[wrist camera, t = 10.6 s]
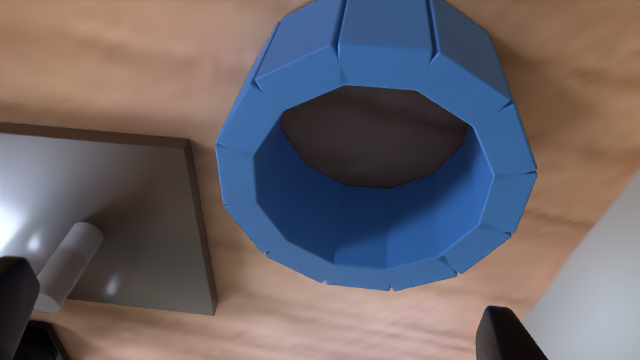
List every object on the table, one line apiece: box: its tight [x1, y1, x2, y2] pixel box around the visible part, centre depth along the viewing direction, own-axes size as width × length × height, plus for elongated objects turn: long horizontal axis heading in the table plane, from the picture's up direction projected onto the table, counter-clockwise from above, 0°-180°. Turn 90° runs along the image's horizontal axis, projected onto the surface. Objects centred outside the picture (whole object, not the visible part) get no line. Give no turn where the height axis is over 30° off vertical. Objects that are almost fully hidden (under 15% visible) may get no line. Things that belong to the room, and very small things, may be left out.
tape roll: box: [215, 0, 537, 291], centre depth 18 cm, size 10×10×5 cm
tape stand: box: [0, 122, 218, 316], centre depth 24 cm, size 12×12×5 cm
